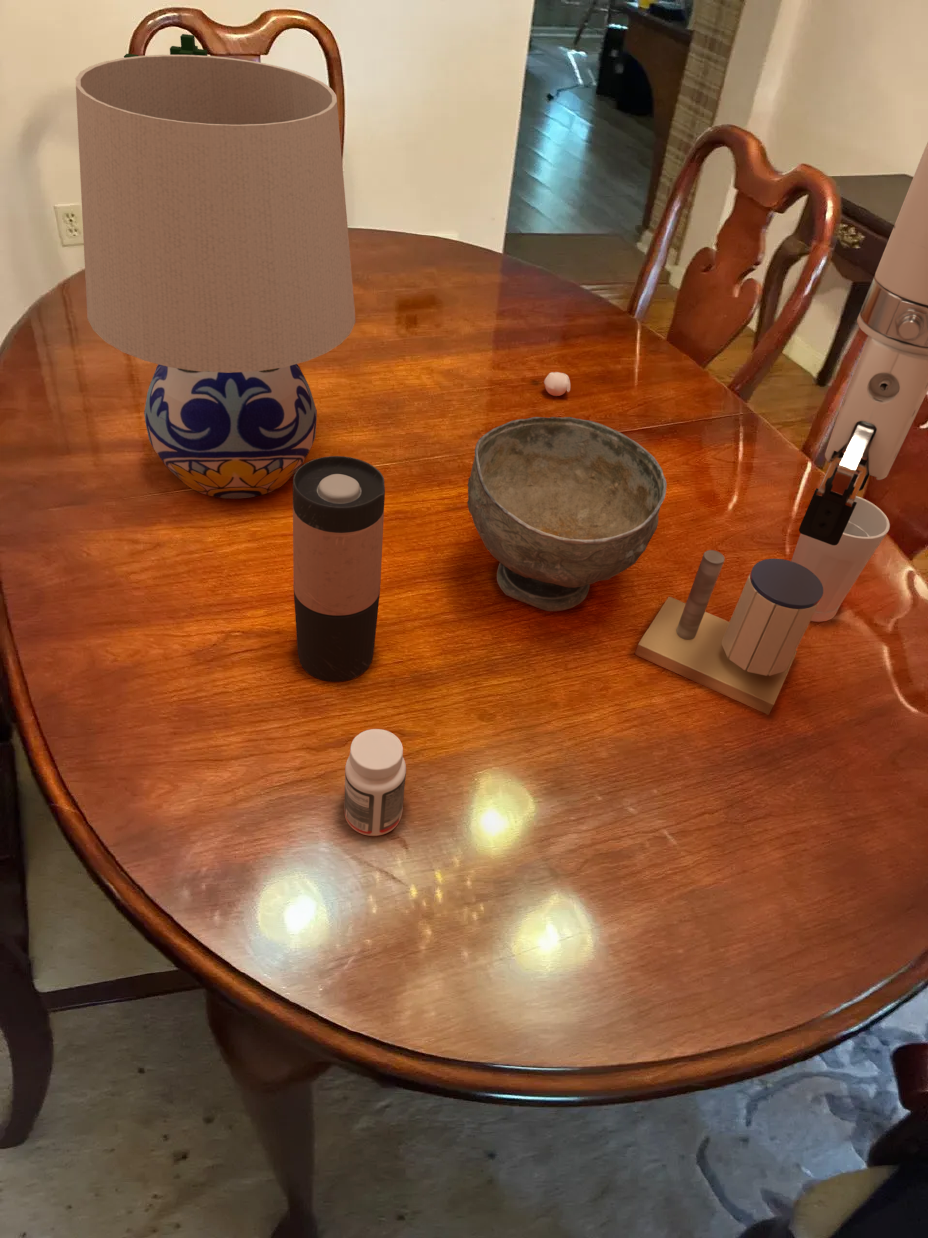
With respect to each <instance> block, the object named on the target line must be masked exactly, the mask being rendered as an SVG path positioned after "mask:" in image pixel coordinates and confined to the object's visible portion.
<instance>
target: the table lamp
mask: <svg viewBox="0 0 928 1238" xmlns="http://www.w3.org/2000/svg"><path fill="white" fill-rule="evenodd" d="M337 98H338V97H337V94H336V92H334V90H333V89H332V88H331V87H330V86H329V85H327V84H326V83H324V82H323V81H321V80H319V79H317V78H315V77H312V76H310V75H308V74H305V73H302V72H299V71H298V70H293V69H290V68H286V67H282V66H278V65H274V64H269V63H266V62H265V63H264V62H259V61H254V60H247V59H241V58H233V57H226V56H225V57H224V56H215V55H207V56H200V55H170V54H150V55H148V54H147V55H139V56H136V57H127V58H124V57H120V58H115V59H110V60H104V61H102V62H99V63H96V64H93V65H90V66H88V67H86V68H85V69H83V70H81V71H80V72H79V73H78V74H77V75H76V77H75V100H76V113H77V114H76V115H77V117H76V118H77V119H76V120H77V136H78V137H77V139H78V157H79V159H78V160H79V175H80V176H79V178H80V196H81V217H82V236H83V257H84V259H83V260H84V276H85V277H84V278H85V279H84V280H85V296H86V297H85V298H86V315H87V316H86V318H87V321H88V323H89V325H90V326H91V328H92V331H93V332H94V333H96V334H97V336H99V338H101V339H102V341H104V342H105V344H108V345H109V346H112V347H113V348H115V349H116V350H118V351H120V352H122V353H124V354H126V355H129V356H132V357H134V358H137V359H139V360H142V361H144V362H148V363H151V364H156V365H157V366H156V367H155V370H154V373H153V376H152V378H151V380H150V382H149V386H148V389H147V394H146V400H145V406H144V411H143V414H144V423H145V427H146V432H147V437H148V441H149V443H150V445H151V447H152V449H153V451H154V452H155V453H156V454H157V456H158V457H159V458H160V460H161V461H162V463H163V464H164V466H165V467H166V468H168V470H169V471H170V472H171V473H172V474H173V475H174V476H176V478H177V479H179V480H180V481H181V482H182V484H184V485H185V486H187V487H188V488H190V489H191V490H193V491H195V492H198V493H200V494H202V495H205V496H209V497H213V498H220V499H237V500H239V499H249V498H255V497H260V496H263V495H266V494H269V493H271V492H274V491H275V490H277V489H279V488H281V487H282V486H284V485H285V484H286V483H287V482H288V481H289V480H290V479H291V477H293V476H294V475H295V473H296V471H297V470H298V469H299V468H300V467H301V466H302V465H303V464H304V462H305V460H306V459H307V456H308V454H309V452H310V450H311V449H312V447H313V444H314V442H315V440H316V437H317V436H316V435H317V419H318V418H317V417H318V416H317V415H318V414H317V413H318V410H317V407H316V404H315V400H314V396H313V394H312V393H313V392H312V390H311V387H310V384H309V383H308V381H307V379H306V378H305V375H304V373H303V371H302V369H301V367H300V366H299V365H298V364H302V363H306V362H309V361H311V360H313V359H316V358H318V357H320V356H323V355H326V354H327V353H329V352H330V351H332V350H333V349H335V348H337V347H338V346H340V345H341V344H343V342H344V341H345V340H346V339H347V338H348V337H349V336H350V335H351V334H352V331H353V329H354V326H355V324H356V307H355V297H354V296H355V295H354V285H353V273H352V262H351V260H352V259H351V250H350V249H351V248H350V240H349V227H348V226H349V225H348V217H347V216H348V214H347V204H346V202H347V201H346V191H345V181H344V168H343V167H344V166H343V157H342V145H341V134H340V122H339V121H340V120H339V110H338V109H339V108H338V99H337Z"/></svg>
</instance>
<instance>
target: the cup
mask: <svg viewBox="0 0 928 1238" xmlns="http://www.w3.org/2000/svg"><path fill="white" fill-rule="evenodd" d="M854 502H857V504H856V506H855V508H854V510H853V513H852V515H851V517H850V519H849V521H848V524H847V526H846V528H845V530H844V532H843V534H842V537H841V539H840V541H839V543H838V544H837V545H830V544H827V543H825V542H822V541H819V540H817V539H814V538H811V537H809V536H806V535H803V534H801V533H799V537H798V540H797V543H796V546H795V549H794V552H793V555H792V556H791V560H790V561H792V562H795V563H797V564H800V565H802V566H804V567H805V568H807V569H809V570H810V571H811V572H813V573H814V574H815V575H816V576H817V577H818V579H819V580H820V581H821V583H822V586H823V596H822V598H821V600H820V602H819V605H818V607H817V609H816V611H815V613H814V615H813V617H812V619H811V621H810V622H817V623H818V622H821V623H822V622H827V621H829V620H832V619H833V618H834V617H835V616H836V614H837V613H838V610H839V609H840V607H841V605H842V603H843V602H844V600H845V599H846V598H847V595H848V594H849V592H850V590H851V589H852V588H853V586H854V584H855V583H856V581H857V580H858V578H859V577H860V575H861V574H862V572H863V570H864V569H865V567H866V566H867V564H868V563H869V561H870V559H871V558H872V557H873V555H874V553H875V552H876V551H877V549H878V547H879V546H880V545H881V543H882V541H883V540H884V538H886V535H887V534H888V532H889V530H890V527H891V524H890V520H889V518H888V517H887V515H886V513H885V512H884V511H883V510H882V509H881V508H880V507H879V506H877V505H875V504H874V503H873V502H871V501H869V500H868V499H865V498H863V497H862V496H861V497H860V496H858V495H857V496H856V498H855V500H854Z"/></svg>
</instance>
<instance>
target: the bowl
mask: <svg viewBox="0 0 928 1238" xmlns="http://www.w3.org/2000/svg"><path fill="white" fill-rule="evenodd" d="M667 486H668V483H667V480H666V477H665V475H664V470H663V468H662V467H661V465H660V464H659V462H658V460H657V459H656V458H655V456H653V454H652V453H650V452H649V451H648V450H647V449H646V448H645V447H644V446H642V445H641V444H639V442H637V441H635V440H633V439H632V438H631V437H628V436H627V435H625V434H624V433H622V432H620V431H618V430H616V429H614V428H611V427H609V426H607V425H605V424H602V423H599V422H597V421H593V420H587V419H582V418H575V417H572V416H564V417H561V416H550V417H544V416H533V417H528V418H518V419H513V420H511V421H508V422H506V423H503V424H501V425H499V426H496V427H494V428H492V429H491V430H489V431H487V432H485V434H483V435H482V436H480V437H479V439H478V440H477V442H476V444H475V448H474V457H473V462H472V466H471V471H470V476H469V477H468V479H467V502H466V503H467V508H468V512H469V513H470V515H471V519H472V523H473V525H474V527H475V528H476V531H477V534H478V535H479V537H480V539H481V541H482V543H483V545H484V547H485V549H486V550H487V551H488V552H489V553H490V555H491V556H492V557H493V558H494V559H495V560H497V561H498V562H499V563H498V566H497V570H496V581H497V585H498V586H499V588H500V589H501V591H502V592H503V593H504V594H505V596H506V597H507V596H508V597H510V598H512V599H514V600H517V601H518V602H521V603H524V604H526V605H529V606H531V607H534V608H537V609H540V610H542V611H545V612H560V611H566V610H569V609H572V608H574V607H576V606H578V605H580V604H581V603H583V602H584V601H585V599H586V598H587V597H588V595H589V590H590V586H591V585H593V584H596V583H597V582H601V581H609V580H610V579H611V578H613V577H615V576H617V575H619V574H621V573H623V572H625V570H627V569H629V568H630V567H632V566H633V565H634V564H636V563H637V561H638V560H639V559H640V558H641V556H642V554H643V553H644V552H645V551H646V550H647V547H648V545H649V543H650V542H651V539H652V538H653V536H654V534H655V533H656V531H657V528H658V526H659V525H658V524H659V514H660V510H661V506H662V504H663V502H664V501H665V498H666V494H667Z"/></svg>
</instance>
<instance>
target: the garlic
mask: <svg viewBox="0 0 928 1238" xmlns="http://www.w3.org/2000/svg"><path fill="white" fill-rule="evenodd" d="M543 384H544V387H545V390H546V392H547V393H548V394H549V395H550V396H553V397H560V396H562V395H564V394H565V393H566V392H567V393H570V391H571V380H570V377H569V375H568V374H566V373H565V372H560V371H555V372H554V371H551V372H549V373H548V374H547V376H546V377H545V378H544V380H543Z"/></svg>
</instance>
